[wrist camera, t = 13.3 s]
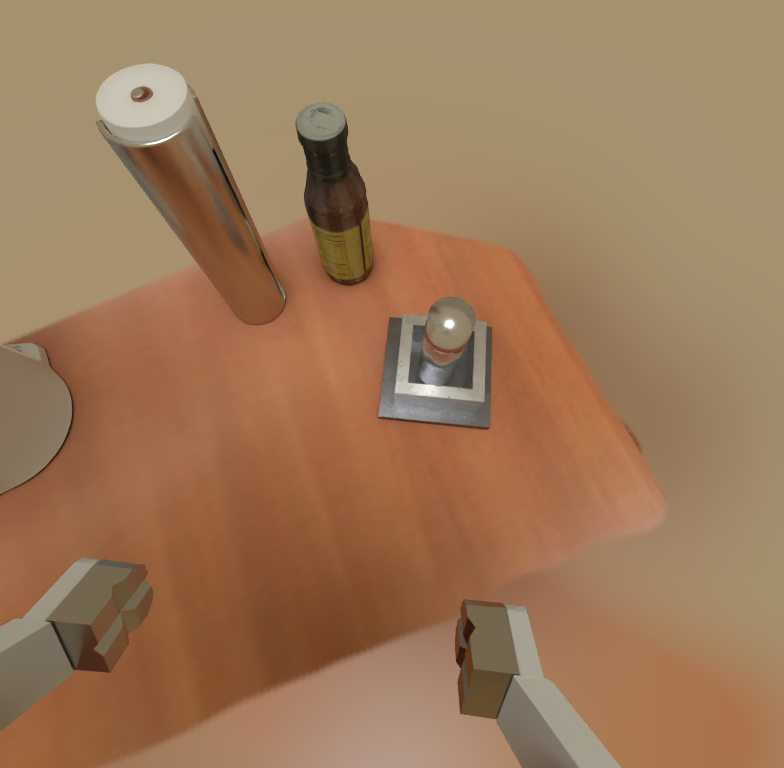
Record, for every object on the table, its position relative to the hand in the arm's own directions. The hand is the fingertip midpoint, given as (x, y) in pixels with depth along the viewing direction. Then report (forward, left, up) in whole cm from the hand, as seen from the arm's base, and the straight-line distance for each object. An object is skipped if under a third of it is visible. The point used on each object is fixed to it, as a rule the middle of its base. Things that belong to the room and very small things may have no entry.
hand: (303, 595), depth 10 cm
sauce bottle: (-6, +31, -32) cm, 45 cm away
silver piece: (-16, +25, -32) cm, 44 cm away
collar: (+6, +18, -31) cm, 37 cm away
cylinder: (+6, +18, -30) cm, 36 cm away
